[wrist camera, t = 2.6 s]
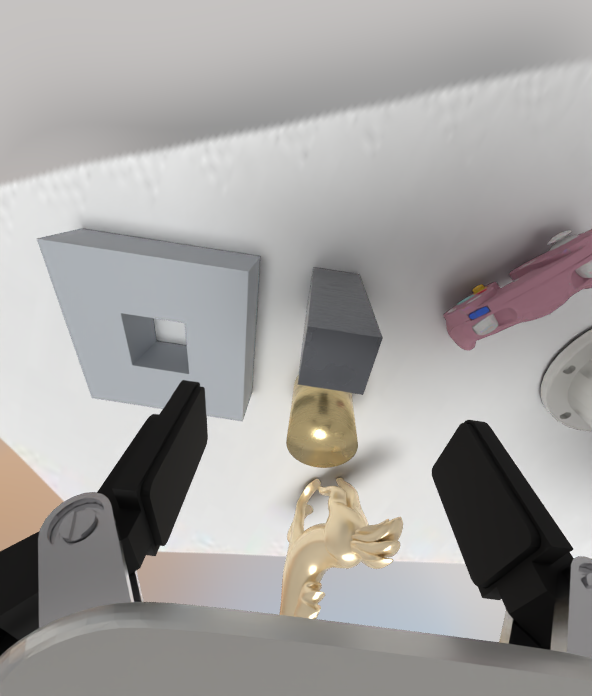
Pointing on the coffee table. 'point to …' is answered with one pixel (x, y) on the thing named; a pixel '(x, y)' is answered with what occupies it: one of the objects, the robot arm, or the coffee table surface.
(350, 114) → the coffee table surface
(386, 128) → the coffee table surface
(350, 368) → the square bit
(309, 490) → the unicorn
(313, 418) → the round bit
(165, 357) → the socket block
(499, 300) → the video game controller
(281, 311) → the coffee table surface
